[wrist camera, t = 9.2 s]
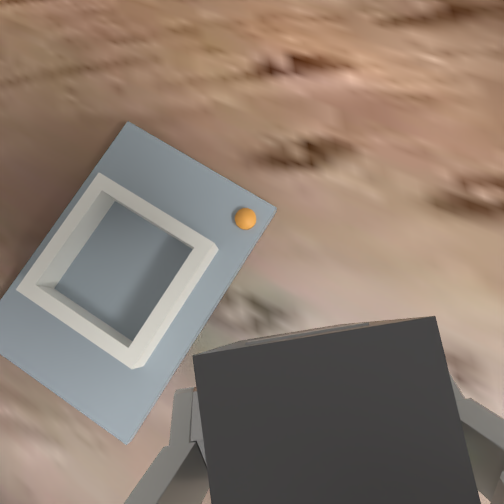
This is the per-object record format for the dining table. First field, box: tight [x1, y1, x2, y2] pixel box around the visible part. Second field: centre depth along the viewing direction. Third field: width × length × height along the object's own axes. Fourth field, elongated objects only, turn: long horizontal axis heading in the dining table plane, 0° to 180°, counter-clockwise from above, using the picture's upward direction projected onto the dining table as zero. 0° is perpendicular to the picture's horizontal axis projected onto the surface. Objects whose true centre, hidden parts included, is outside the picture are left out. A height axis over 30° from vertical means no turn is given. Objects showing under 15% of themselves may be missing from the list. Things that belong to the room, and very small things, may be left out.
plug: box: [193, 316, 481, 504], centre depth 11 cm, size 4×4×10 cm
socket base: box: [0, 121, 277, 445], centre depth 30 cm, size 20×14×4 cm
